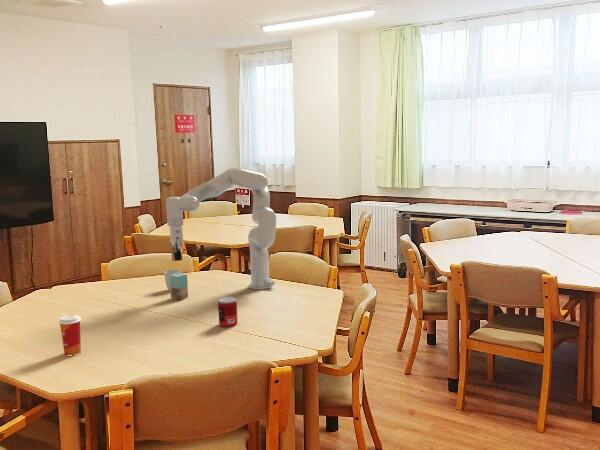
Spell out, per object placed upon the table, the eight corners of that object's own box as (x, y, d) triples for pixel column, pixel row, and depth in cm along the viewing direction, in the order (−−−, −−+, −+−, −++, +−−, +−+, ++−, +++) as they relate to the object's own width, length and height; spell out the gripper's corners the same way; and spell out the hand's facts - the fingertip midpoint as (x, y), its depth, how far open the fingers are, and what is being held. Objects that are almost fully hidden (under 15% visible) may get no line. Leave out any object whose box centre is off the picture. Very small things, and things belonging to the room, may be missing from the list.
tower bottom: (188, 297, 301) (187, 285, 300) (181, 300, 296) (181, 288, 295) (177, 296, 303) (176, 284, 303) (171, 299, 298) (170, 287, 297)
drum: (184, 259, 297) (183, 247, 297) (177, 261, 293) (177, 249, 292) (176, 258, 300) (176, 246, 299) (169, 260, 296) (169, 248, 295)
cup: (177, 292, 311) (176, 273, 310) (162, 292, 313) (161, 273, 311) (183, 288, 319) (182, 270, 318) (169, 288, 321) (168, 269, 319)
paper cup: (65, 350, 230) (62, 314, 228) (85, 349, 230) (83, 313, 228) (58, 358, 222) (55, 321, 220) (80, 356, 223) (77, 320, 221)
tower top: (187, 286, 299) (187, 274, 298) (177, 288, 295) (176, 276, 294) (180, 284, 303) (180, 272, 302) (170, 287, 299) (169, 275, 298)
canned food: (240, 322, 259) (239, 297, 257) (232, 328, 252) (231, 302, 250) (224, 321, 262) (223, 296, 260) (216, 326, 254) (214, 301, 252)
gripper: (186, 223, 287) (188, 261, 290) (180, 219, 303) (181, 255, 306) (170, 225, 285) (172, 263, 287) (164, 220, 300) (166, 256, 303)
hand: (177, 258), depth 297 cm, fingers closed on drum, 5 cm apart
